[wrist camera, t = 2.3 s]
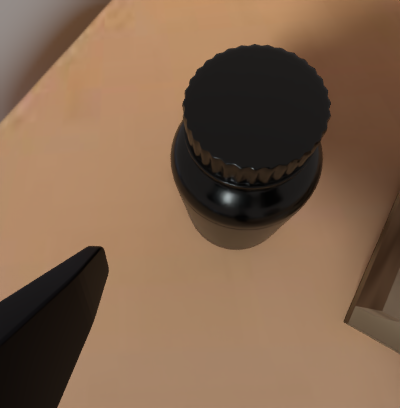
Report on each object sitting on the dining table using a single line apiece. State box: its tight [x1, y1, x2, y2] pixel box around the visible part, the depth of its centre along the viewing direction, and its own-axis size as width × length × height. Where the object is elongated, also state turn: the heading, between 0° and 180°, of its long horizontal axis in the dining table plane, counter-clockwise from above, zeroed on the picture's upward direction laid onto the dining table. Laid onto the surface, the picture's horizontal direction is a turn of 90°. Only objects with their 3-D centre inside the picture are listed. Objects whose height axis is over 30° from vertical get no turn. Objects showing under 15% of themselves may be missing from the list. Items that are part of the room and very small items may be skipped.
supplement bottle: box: [171, 44, 331, 250], centre depth 15 cm, size 7×7×12 cm
